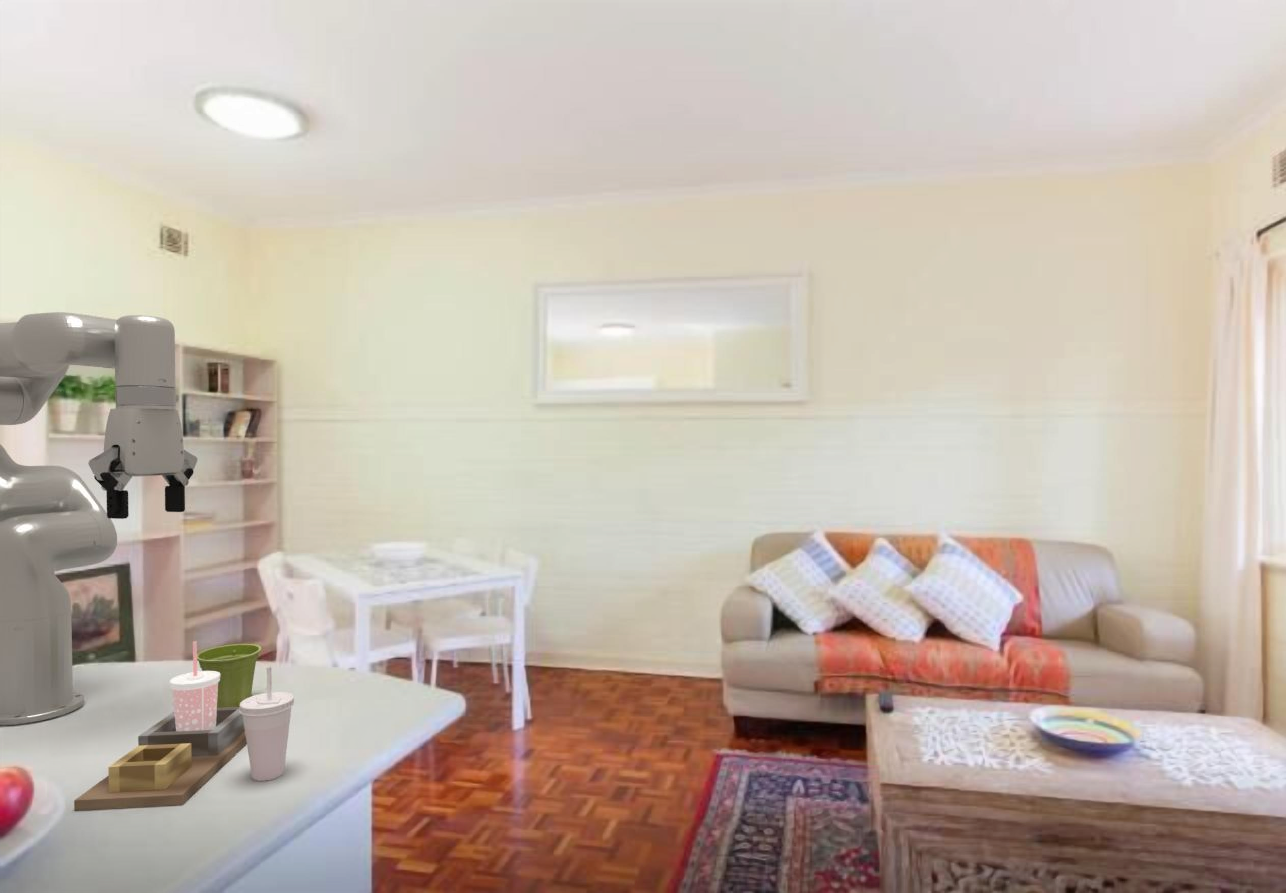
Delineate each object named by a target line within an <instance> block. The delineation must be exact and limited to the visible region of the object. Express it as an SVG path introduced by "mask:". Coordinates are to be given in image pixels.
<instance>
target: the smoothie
mask: <svg viewBox="0 0 1286 893" xmlns="http://www.w3.org/2000/svg"><path fill="white" fill-rule="evenodd" d="M272 672H273V671H272V666H271V665H270V666H267V667H266V693H264V692H263V693H259V694H255V695H251V697H249V698H247V699H245V700H243V701H242V702H241V703H240V710H239V712H240V714H242V715H243V722H244V728H245V735H246V741H247V744H246V746H247V754H248V759H249V767H250V771H251V772H250V773H251V774H250V775H251V779H252V778H253V779H254V781H256V780H257V782H264V781H265V782H266V780H267V781H272V780H274V779H276V778H277V779H278V778H280V777H281V776H282V775H284V773H285V767H286V766H285V765H286V758H287V748H288V739H289V731H290V730H289V729H290V724H291V723H290V722H291V715H292V714H291V712H292V708H293V707H294V705H295V696H294V695H293V694H292V693H290V692H284V691H280V692H279V691H276V692H275V691H274V692H273V687H272V686H273V684H272V683H273V682H272V681H273V680H272V677H273V676H272V675H273V674H272ZM253 779H252V780H253Z"/></svg>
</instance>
